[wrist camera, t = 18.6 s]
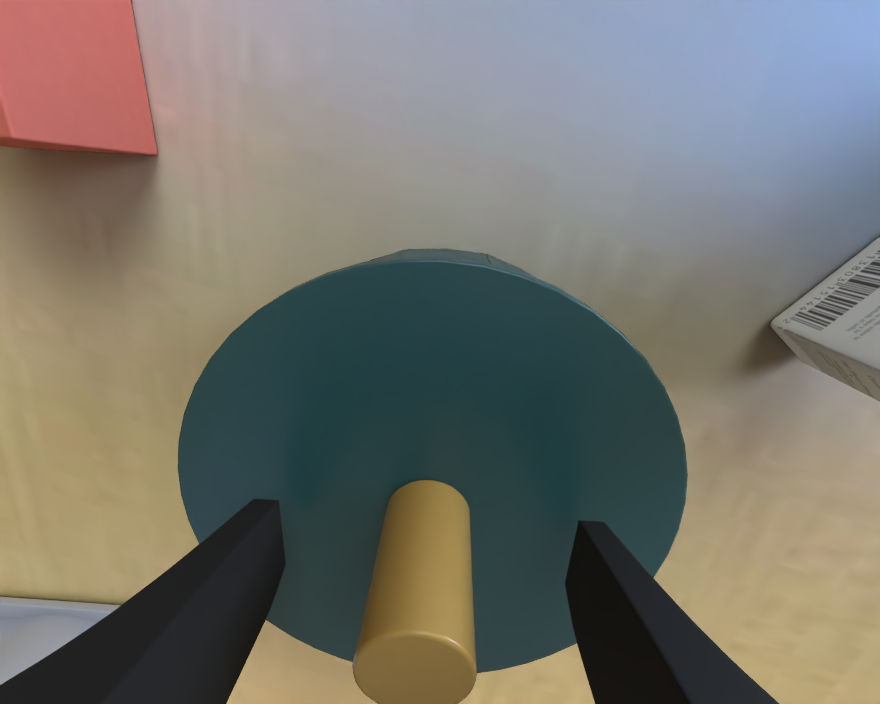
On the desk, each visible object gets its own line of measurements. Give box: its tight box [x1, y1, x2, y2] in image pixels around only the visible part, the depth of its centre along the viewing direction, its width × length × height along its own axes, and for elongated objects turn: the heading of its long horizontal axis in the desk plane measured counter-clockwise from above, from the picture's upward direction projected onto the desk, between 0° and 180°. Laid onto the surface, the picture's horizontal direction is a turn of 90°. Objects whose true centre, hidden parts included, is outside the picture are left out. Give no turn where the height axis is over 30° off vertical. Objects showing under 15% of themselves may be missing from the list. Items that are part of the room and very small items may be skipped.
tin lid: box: [178, 256, 688, 704], centre depth 10 cm, size 13×13×5 cm
